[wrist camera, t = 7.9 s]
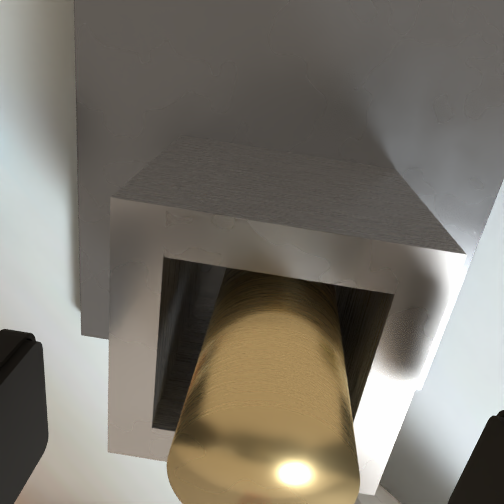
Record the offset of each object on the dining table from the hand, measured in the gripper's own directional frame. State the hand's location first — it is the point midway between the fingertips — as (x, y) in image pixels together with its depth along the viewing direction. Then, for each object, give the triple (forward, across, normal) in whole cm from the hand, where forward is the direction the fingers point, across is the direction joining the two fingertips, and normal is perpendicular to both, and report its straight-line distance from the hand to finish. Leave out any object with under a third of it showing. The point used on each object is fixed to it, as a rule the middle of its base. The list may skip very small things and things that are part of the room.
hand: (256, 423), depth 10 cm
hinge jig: (+10, 0, -4) cm, 11 cm away
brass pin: (+9, 0, 0) cm, 9 cm away
